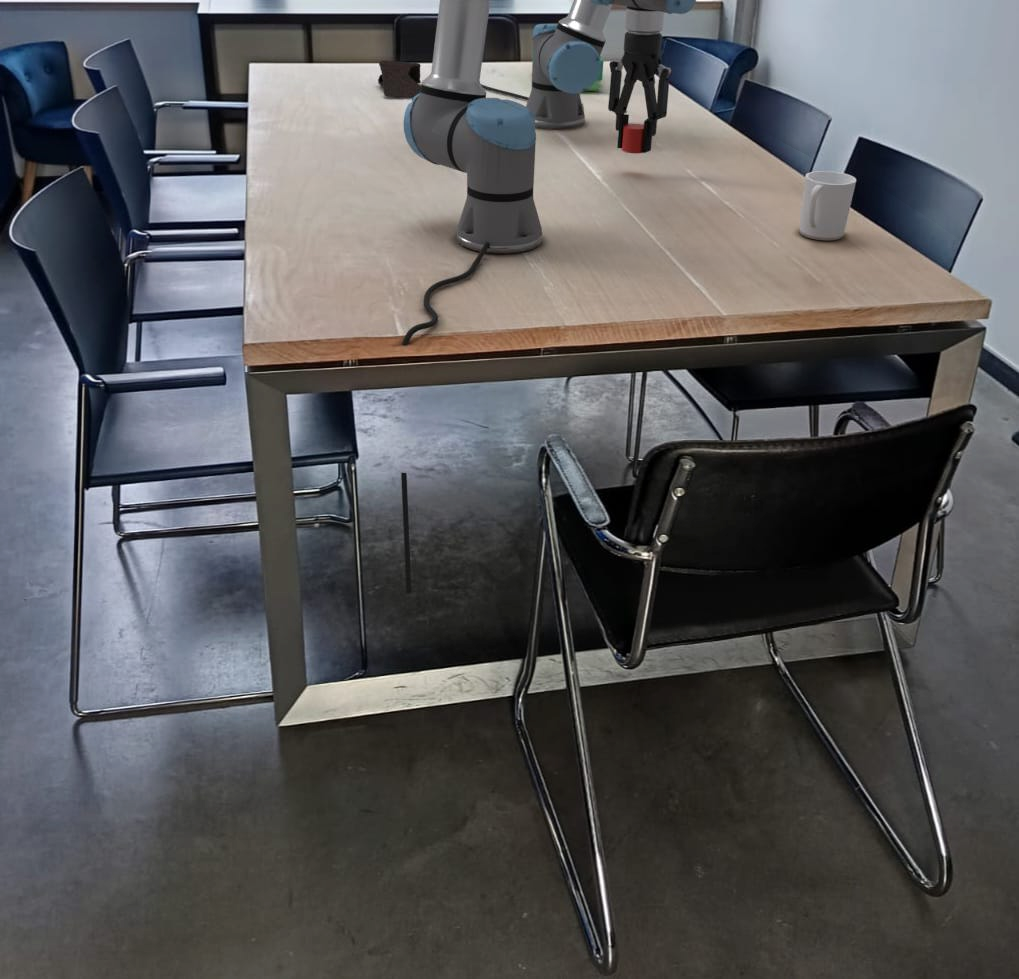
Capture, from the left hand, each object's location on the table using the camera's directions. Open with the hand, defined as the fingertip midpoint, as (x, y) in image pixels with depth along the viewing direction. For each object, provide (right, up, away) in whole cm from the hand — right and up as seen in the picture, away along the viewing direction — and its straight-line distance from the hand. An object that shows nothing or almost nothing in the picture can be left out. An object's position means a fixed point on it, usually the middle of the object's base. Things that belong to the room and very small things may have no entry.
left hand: (634, 149), depth 232 cm
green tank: (-11, +46, +85) cm, 98 cm away
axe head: (-56, +37, +68) cm, 96 cm away
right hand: (-45, +39, +6) cm, 60 cm away
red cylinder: (0, 0, 0) cm, 0 cm away
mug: (+31, -25, -30) cm, 50 cm away
